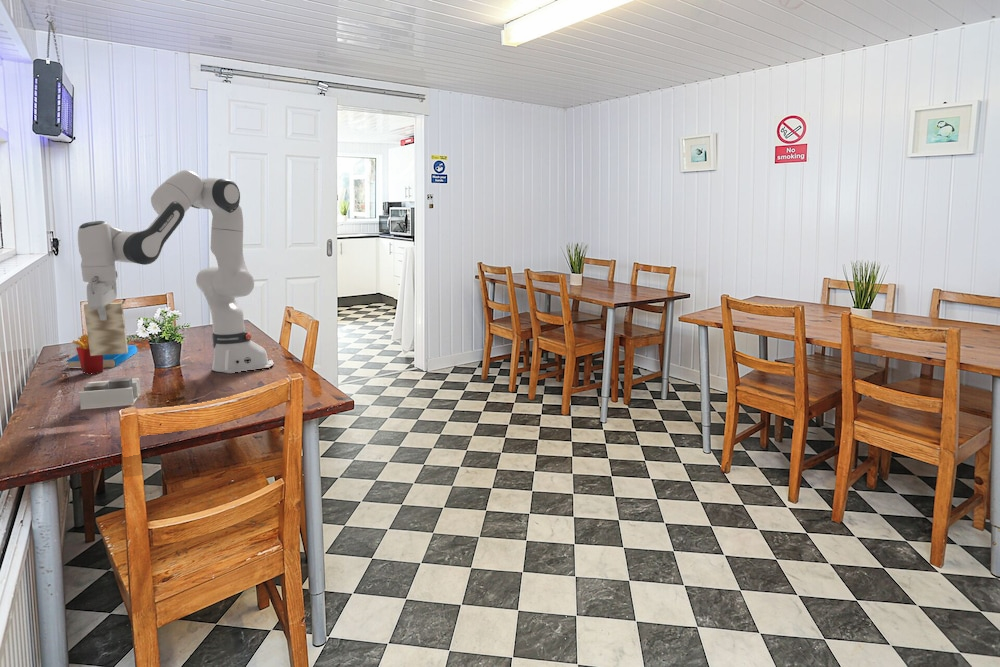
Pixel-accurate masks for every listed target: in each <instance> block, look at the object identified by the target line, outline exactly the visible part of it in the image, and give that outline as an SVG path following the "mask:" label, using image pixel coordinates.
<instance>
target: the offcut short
mask: <svg viewBox="0 0 1000 667" xmlns="http://www.w3.org/2000/svg"><path fill="white" fill-rule="evenodd" d="M106 389H109V387H108V382H104V383H91V384H88V383H86V384H85V386H83V391H94V390H106Z"/></svg>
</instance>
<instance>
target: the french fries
mask: <svg viewBox="0 0 1000 667" xmlns="http://www.w3.org/2000/svg"><path fill="white" fill-rule="evenodd" d="M77 338H78V339H77V340H73V341H72V343H73V344H75V345H77V347H76V352H77V355H78V356H79V360H80V364H81V368H82V369H81V370H82V373H83V372H85V373H88V374H91V373H96V374H98V373H97V372H101V373H103V372H104V368H103V355H95V356H90V349H89V342H88V334H86V333H84V334H83V335H81V336H80V337H79V336H78V337H77ZM85 373H84V374H85ZM88 374H87V375H88ZM91 375H92V374H91Z"/></svg>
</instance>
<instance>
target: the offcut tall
mask: <svg viewBox="0 0 1000 667" xmlns="http://www.w3.org/2000/svg"><path fill="white" fill-rule="evenodd" d="M132 379H133V377H131V376H129V377H118V378H117V377H116V378H115V377H114V378H110V380H108V381H109V382H108V384H109V389H119V388H131V387H132V388H133V385H132ZM133 397H134V393H133Z"/></svg>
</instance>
